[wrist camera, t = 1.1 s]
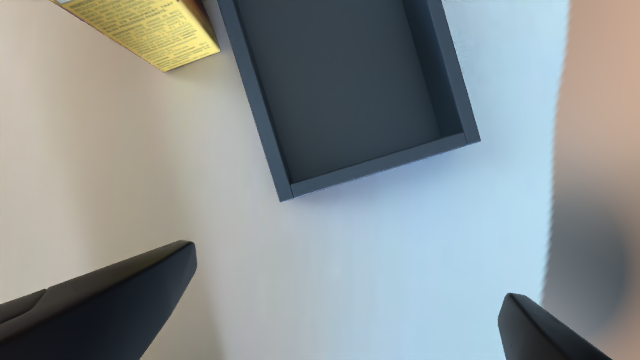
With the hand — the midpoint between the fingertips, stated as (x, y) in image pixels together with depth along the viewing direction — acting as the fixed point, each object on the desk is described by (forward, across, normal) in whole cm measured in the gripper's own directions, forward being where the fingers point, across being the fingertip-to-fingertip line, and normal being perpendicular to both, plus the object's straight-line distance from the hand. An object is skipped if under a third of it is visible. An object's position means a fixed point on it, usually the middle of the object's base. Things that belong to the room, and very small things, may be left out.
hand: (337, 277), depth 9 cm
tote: (+14, +3, -6) cm, 16 cm away
